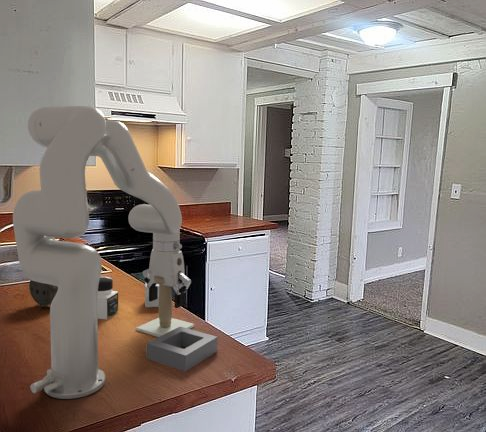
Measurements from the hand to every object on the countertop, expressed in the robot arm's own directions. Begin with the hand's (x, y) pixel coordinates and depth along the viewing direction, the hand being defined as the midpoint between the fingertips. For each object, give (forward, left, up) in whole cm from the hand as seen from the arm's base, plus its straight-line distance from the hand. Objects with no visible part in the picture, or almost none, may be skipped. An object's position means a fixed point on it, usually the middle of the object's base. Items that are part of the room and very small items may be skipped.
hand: (165, 303), depth 131 cm
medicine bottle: (-3, +23, -8) cm, 24 cm away
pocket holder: (-11, -15, -8) cm, 20 cm away
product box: (+14, +17, -8) cm, 23 cm away
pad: (0, 0, -8) cm, 8 cm away
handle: (0, 0, -7) cm, 7 cm away
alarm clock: (-9, +43, -8) cm, 45 cm away
